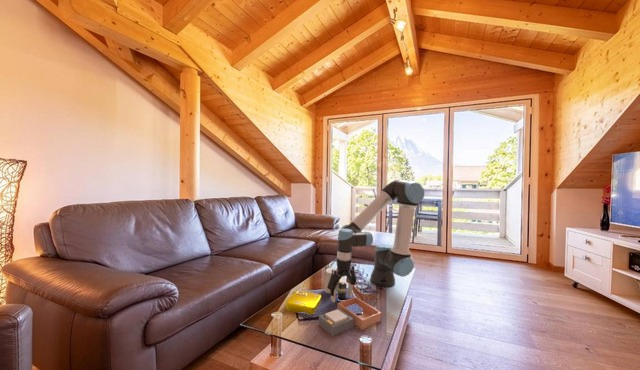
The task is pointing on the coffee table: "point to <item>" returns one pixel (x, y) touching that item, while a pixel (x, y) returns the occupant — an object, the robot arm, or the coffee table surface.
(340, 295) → the battery cell
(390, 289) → the coffee table surface
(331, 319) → the pad
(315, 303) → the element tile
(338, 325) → the box
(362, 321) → the tray
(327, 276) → the cup
